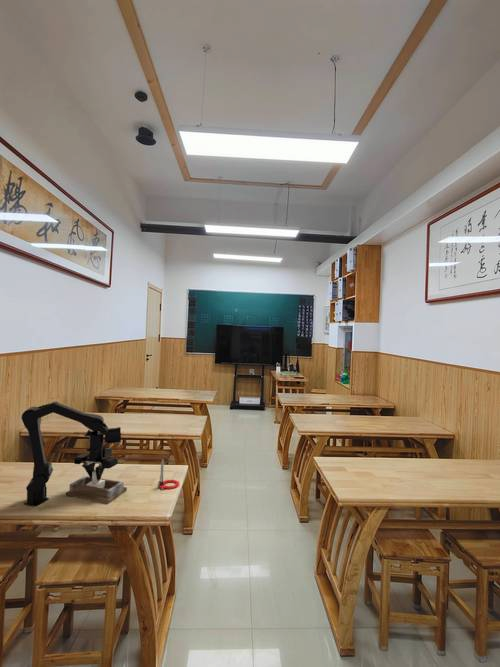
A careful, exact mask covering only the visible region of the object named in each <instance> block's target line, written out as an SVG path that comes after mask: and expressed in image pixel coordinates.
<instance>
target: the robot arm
mask: <svg viewBox="0 0 500 667" xmlns="http://www.w3.org/2000/svg"><path fill="white" fill-rule="evenodd" d="M51 414H56V415H59V416H62V417H64V418H67V419H70V420H72V421H75V422H77V423H80V424H81V425H83V426H84V427H85V428H87V429H88V430H87V431H86V432H85V433H84V437H88V438H89V439H88V448H86V452H88V453H82V454H79V455H77V456H75V458H74V462H73V463H74V465H81V463H82V465H81V467H82V468H84V470H85V471H86V474H87V475H88V477H90V478H91V480H92V471H93V470H96V476H97V480H98V481H99V480H100V479H102V475H103V474H104V471H105V469H108V470H109V469H111V468H113V467H115V466H117V465H118V463H119V460H118V458H117V457H114V456H113V457H112V453H113V448H108V447H107V446H106V445H104V442H105V443H106V444H107V445H109V444H110V445H112V444H119V443H122V433H121V432H122V430H121V428H122V427H120V426H119V427H118V426H117V427H111V428H109V426H108V425H107V424H106V423H105V419H104V417H103V416H102V415H99V414H94V413H85V412H84V411H80V410H78V409H75V408H72V407H69V406H68V405H64V404H62V403H60V402H58V401H51V402H50V403H45V404H43V405H39V406H38V407H37V406H36V405H35V406H30V407H28V408H27V409H26V410H25V411H23V413H22V414H21V420H22V423H23V426H24V427H25V429H26V431H27V432H28V438H29V443H30V448H31V456H32V459H33V469H32V470H33V471H32V478H31V479H30V481H29V482H28V484H27V485H26V487H25V490H26V501H25V502H23V505H25V506H26V505H27V506H31V507H37V506H39V505H41V504H43V503H45V502H46V501H49V499H50V498H49V497H47V495H48V494H47V491H48V490H47V489H48V488H47V483H48V482H49V480H50V478H51V476H52V474H53V471H54V468H53V465H52V464H53V463H52V461H48V460H47V459H46V453H45V452H46V451H45V447H44V443H43V442H44V441H43V437H42V435H43V434H42V430H41V424H42V418H43V417H45V416H48V415H51ZM107 457H108V458H107ZM96 464H98V465H97V466H96ZM95 466H96V467H95Z"/></svg>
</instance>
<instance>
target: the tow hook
mask: <svg viewBox="0 0 500 667" xmlns="http://www.w3.org/2000/svg"><path fill="white" fill-rule="evenodd" d="M164 466H165V465H164V458H161V464H160V475H159V481H158V482H157V484H158V486H159V489H160V490H161V491H163V490H173V489H177V488H178V487H179V486H180V481H178V480H176V479H166V480H164V469H165V468H164ZM168 483H173V484H174V485H166V484H168Z"/></svg>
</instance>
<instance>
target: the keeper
mask: <svg viewBox="0 0 500 667" xmlns="http://www.w3.org/2000/svg"><path fill="white" fill-rule="evenodd" d="M86 486H91V487H97V488H104V487H105V480H99V481H98V480H97V476H96V469H94V470H93V471H92V481H91V482H89V483H88V484H86Z"/></svg>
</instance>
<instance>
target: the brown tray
mask: <svg viewBox="0 0 500 667" xmlns="http://www.w3.org/2000/svg"><path fill="white" fill-rule="evenodd" d="M100 480H105V487H104V488H97V487H91V486H86V484H88V483H89V482H91V481H92V480H91V478H90V477H89V475H88V476H86V475H84V476H82V477H80V478H79V479H76V480H75V481H73V482H70V483H69V490H68V491H65V497H69V498H74V499H81V500H85V501H90V502H96V503H102V504H108V505H109V504H111V502H113V501H115V500H116V499H118V498H119V497H120V496H122V495H124V493H126V492H127V491H128V487H126V486H124V485H125V484H124V482H123V481H119V480H113V479H105V478H101V479H100Z"/></svg>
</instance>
